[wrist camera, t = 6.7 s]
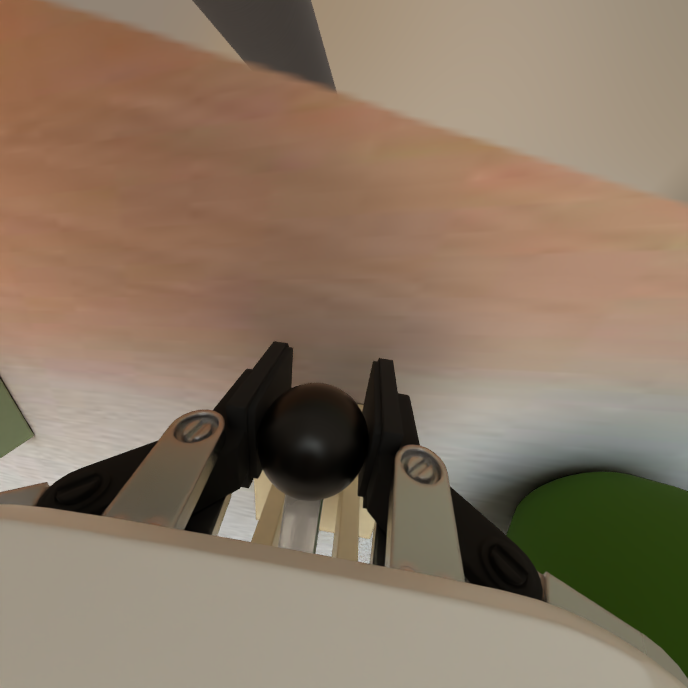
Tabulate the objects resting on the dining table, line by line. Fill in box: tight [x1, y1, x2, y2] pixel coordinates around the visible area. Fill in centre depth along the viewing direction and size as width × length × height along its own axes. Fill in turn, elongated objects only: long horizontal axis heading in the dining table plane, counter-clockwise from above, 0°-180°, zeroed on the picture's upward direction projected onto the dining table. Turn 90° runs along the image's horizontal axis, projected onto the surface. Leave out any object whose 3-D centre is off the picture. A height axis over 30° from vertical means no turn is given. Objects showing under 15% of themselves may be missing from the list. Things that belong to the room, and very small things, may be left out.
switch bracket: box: [251, 404, 375, 562], centre depth 13 cm, size 12×9×13 cm
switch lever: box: [257, 383, 369, 554], centre depth 8 cm, size 14×3×3 cm, turn 173°
